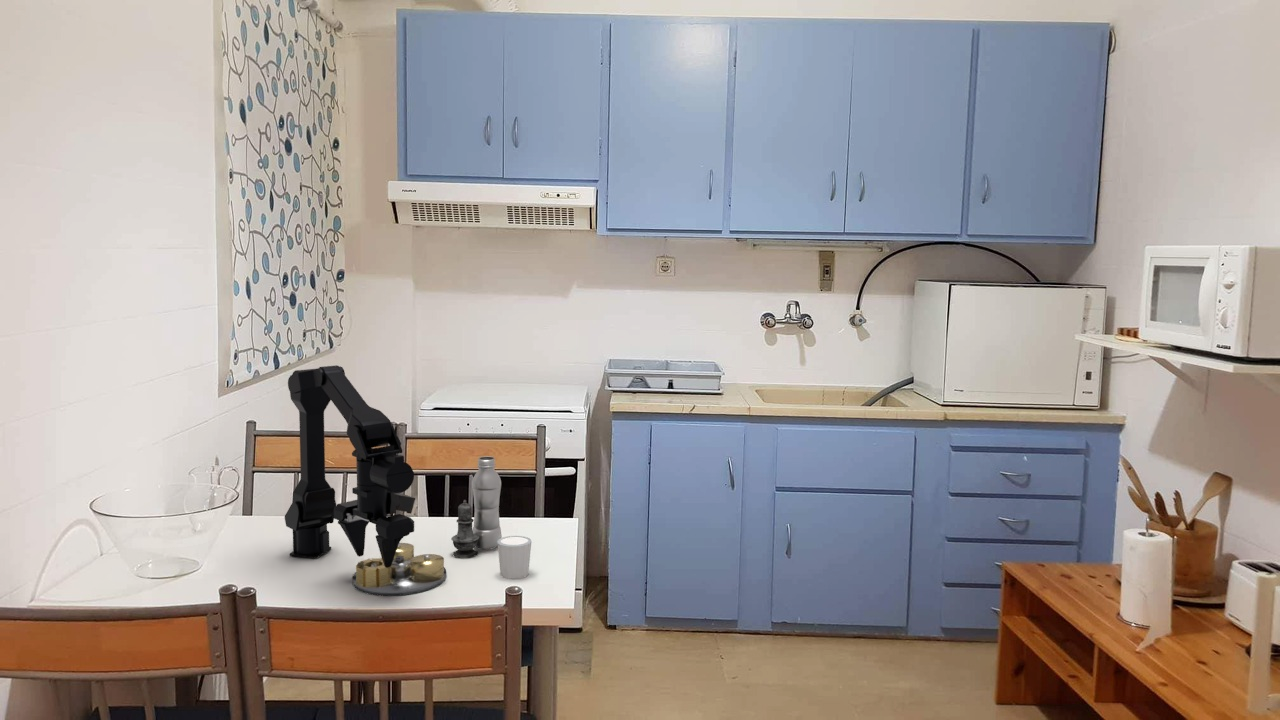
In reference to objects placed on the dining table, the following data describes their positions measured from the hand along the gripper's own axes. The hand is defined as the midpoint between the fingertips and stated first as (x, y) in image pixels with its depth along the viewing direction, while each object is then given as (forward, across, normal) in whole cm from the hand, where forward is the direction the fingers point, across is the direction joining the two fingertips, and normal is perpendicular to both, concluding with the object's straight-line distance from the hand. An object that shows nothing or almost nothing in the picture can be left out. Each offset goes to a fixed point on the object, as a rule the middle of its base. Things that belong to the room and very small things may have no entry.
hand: (374, 561), depth 182 cm
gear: (+4, 0, 0) cm, 4 cm away
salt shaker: (+5, +2, -24) cm, 25 cm away
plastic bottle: (+5, +2, -30) cm, 30 cm away
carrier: (+5, 0, -6) cm, 8 cm away
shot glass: (+5, -14, -23) cm, 28 cm away
